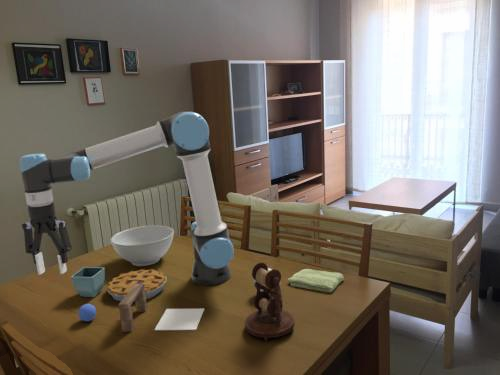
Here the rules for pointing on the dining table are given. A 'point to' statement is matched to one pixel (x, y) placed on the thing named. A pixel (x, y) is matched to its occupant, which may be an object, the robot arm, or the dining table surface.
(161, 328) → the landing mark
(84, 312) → the ball
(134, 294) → the bridge
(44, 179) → the robot arm
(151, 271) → the pie
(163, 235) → the decorative bowl
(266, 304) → the brown wooden tall piece
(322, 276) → the washcloth
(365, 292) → the dining table surface
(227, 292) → the dining table surface
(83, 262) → the dining table surface
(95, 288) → the flower pot
